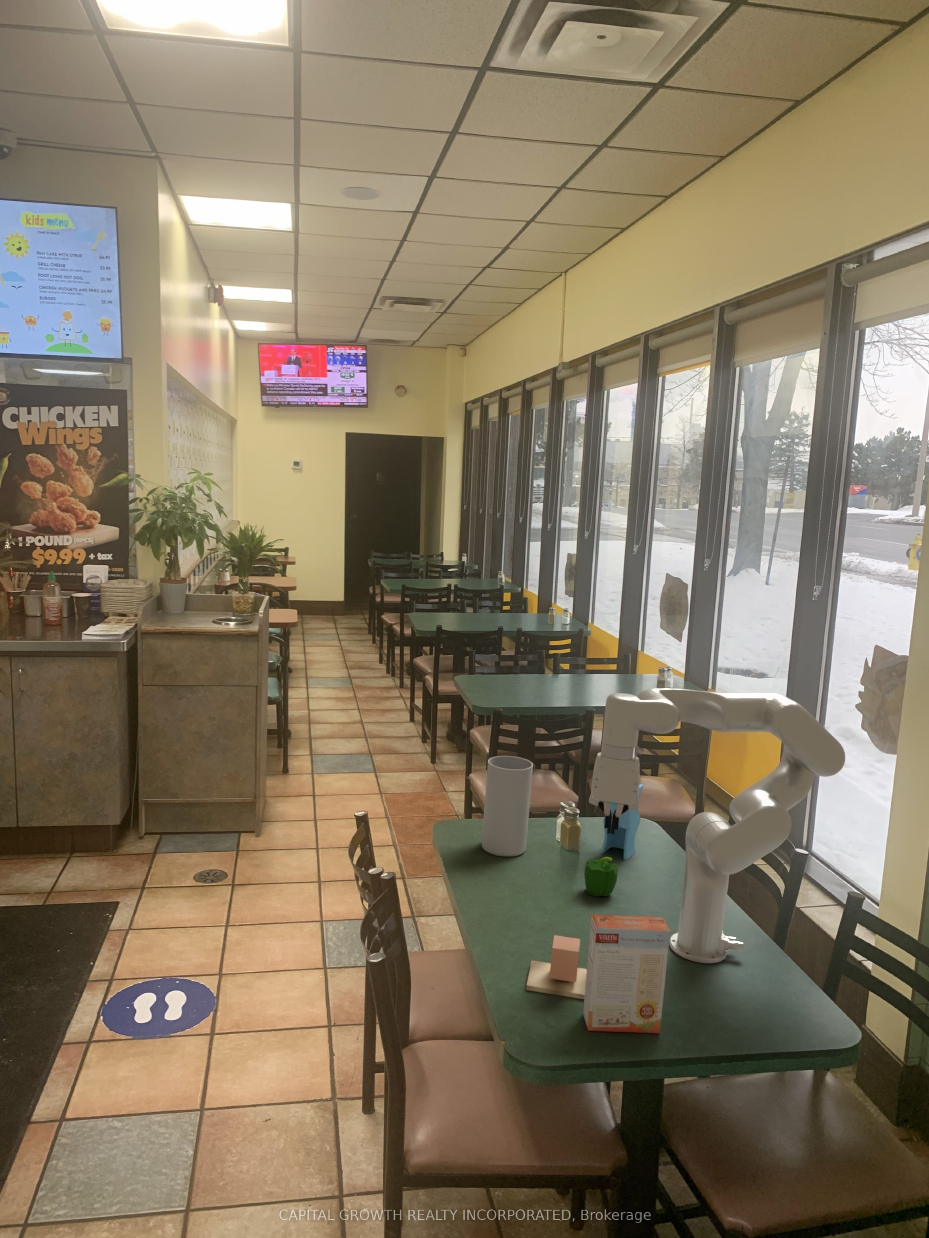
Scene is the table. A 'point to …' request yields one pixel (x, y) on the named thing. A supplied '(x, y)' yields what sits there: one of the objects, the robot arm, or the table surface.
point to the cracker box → (626, 973)
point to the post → (555, 981)
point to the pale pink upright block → (564, 958)
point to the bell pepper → (600, 876)
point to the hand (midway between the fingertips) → (610, 831)
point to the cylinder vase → (507, 805)
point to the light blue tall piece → (623, 831)
